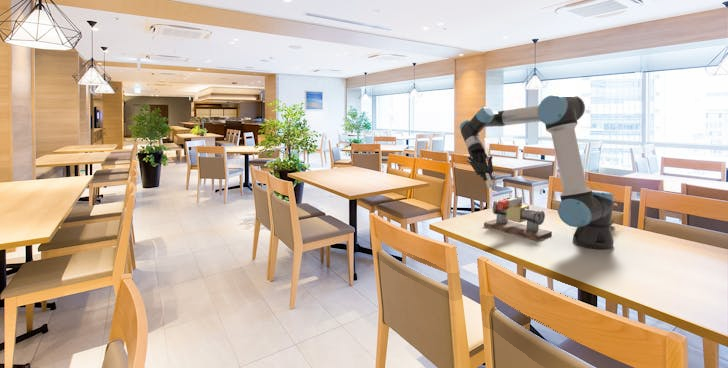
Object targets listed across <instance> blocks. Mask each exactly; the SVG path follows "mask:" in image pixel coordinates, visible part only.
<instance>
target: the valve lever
mask: <svg viewBox="0 0 728 368" xmlns="http://www.w3.org/2000/svg"><path fill="white" fill-rule="evenodd" d="M523 199H524V196H522V195H514V197H512V198H509V199H504V198H503V199H501V200H497V202H498V207H497V209H499V210H506V209H509V207H512V206H522V204H523Z"/></svg>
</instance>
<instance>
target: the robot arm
mask: <svg viewBox="0 0 728 368" xmlns="http://www.w3.org/2000/svg"><path fill="white" fill-rule="evenodd" d="M585 109H586V105H585V101H583V99H582V98H581V97H579V96H577V95H574V94H562V93H561V94H560V93H556V94H551V95H548V96H546V97H544V98H543V99H542V100H541V101H540V103H539V104H538V105H532V106H527V107H526V106H525V107H520V108H514V109H513V108H512V109H505V110H499V111H498V110H497V111H493V110H492V109H491V108H489V107H487V106H484V107H481V108H480V109H479V110H478V111H477V112H476V113H475V115H474V116H473V117H472V118H471V119H466V120H464V121H462V122H461V123H460V125H459V131H460V134H461V136H462V139H463V141H464V143H465V146H466V149H467V151H468V154H469V156H468V158H467V160H466V162H467V163H468V164H469V165H470V166H471V167H472V169H473V170H474V172H475V173H476V175H477V176H480V178H482V180H483V182H485V184H486V187H487V188H489V189H491V188H492V187H493V185H494V183H493V181H492V180H493V177H492V173H493V172H494V168H493V156H492V155H490V156H488V154H487V152H486V150H485V148H484V145H483V142H482V140H481V138H480V135H479V133H481V131H483V129H485V128H490V127H504V126H512V125H513V126H514V125H521V124H522V125H523V124H529V123H538V122H539V123H540V122H541V123H543V124H544V126H545V130H546V132H547V133H549V134H551V139H552V143H553V149H554V152H555V153H554V155H555V158H556V162H557V167H558V172H559V177H560V182H561V187H562V192H561V193H560V195H559V197H560V203H559V205H558V207H557V214H558V217H559V218H560V220H561V221H562V222H563V223H565V225H567V226H569V227H573V228H576V230H575V232H574V234H573V236H572V242H573V243H574V244H576V245H578V246H582V247H585V248H587V249H588V248H589V249H596V250H608V249H612V248H613V247H614V244H615V243H614V236H613V233H612V230H611V226H612V225H611V218H612V217H613V216H612V215H613V208H614V206H613V203H615V200H614V199H615V198H614V194H613V193H611V192H608V191H603V190H593V189H591V188H590V187H588V186H587V182H586V177H585V171H584V168H583V164H582V159H581V155H580V154H581V153H580V149H579V143H578V140H577V139H578V138H577V135H576V129H575V128H576V127H577V125H578V124H579V123H578V120H580V119H581V118H582V117H583V115H584V113H585Z"/></svg>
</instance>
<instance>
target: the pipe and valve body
mask: <svg viewBox="0 0 728 368" xmlns="http://www.w3.org/2000/svg"><path fill="white" fill-rule="evenodd" d="M497 207H498V201H495V202H494V203H493V204H492V213H493V214H494V215H495V216H496V223H497V224H501V225H502V224H506V223H508V221H511V222H515V223H519V224H521V223H523V222H526V225H527V228H526V231H528V232H531V233H533V232H536V231H538V229H540V228H539V227H540V226H541V225H542V224H543V223H544V221H545V217H546V214H545V212H544V211H543V210H537V211H536V210H531V209H530V205H527V204H523V203H522V206H512V207H509V209H506V210H499V209H497Z"/></svg>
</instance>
